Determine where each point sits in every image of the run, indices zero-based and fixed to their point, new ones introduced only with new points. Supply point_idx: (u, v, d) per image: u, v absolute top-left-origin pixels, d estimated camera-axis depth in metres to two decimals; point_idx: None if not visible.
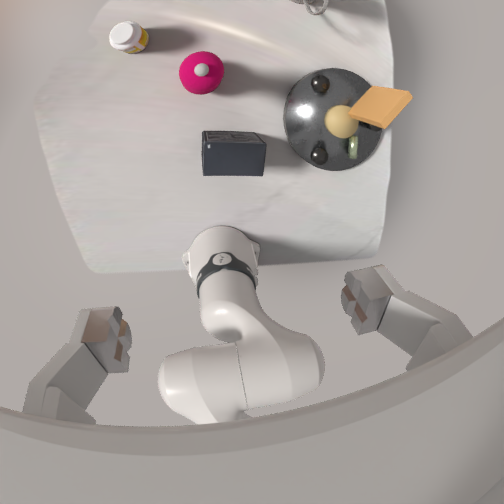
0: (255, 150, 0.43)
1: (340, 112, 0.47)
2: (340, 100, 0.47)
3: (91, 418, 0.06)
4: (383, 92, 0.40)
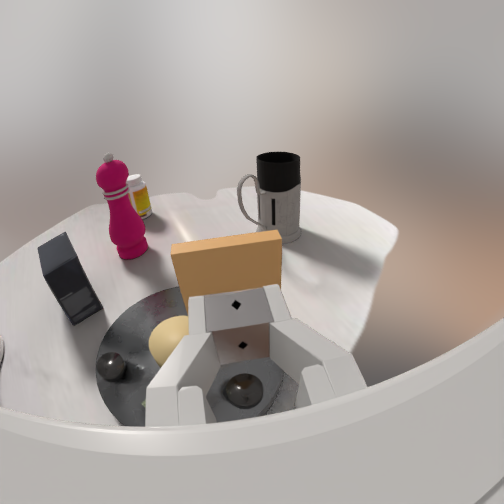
0: (66, 254, 0.32)
1: (186, 324, 0.30)
2: None
3: (214, 416, 0.07)
4: None
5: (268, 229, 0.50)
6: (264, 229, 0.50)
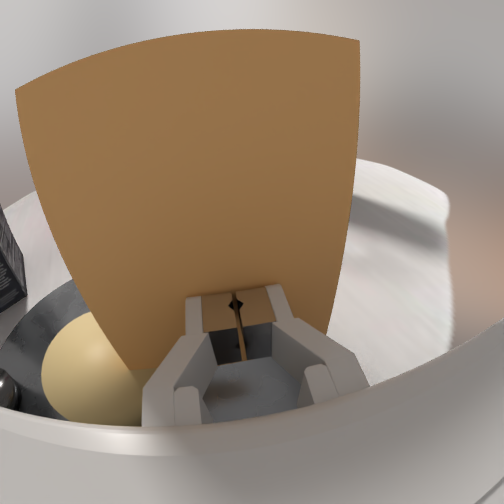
0: None
1: None
2: None
3: (211, 417, 0.07)
4: None
5: None
6: None
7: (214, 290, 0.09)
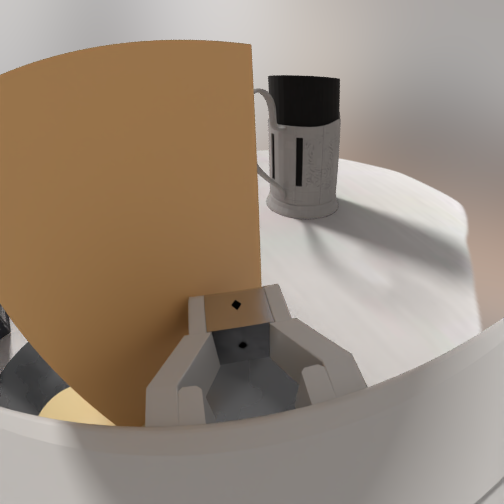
0: None
1: (78, 408, 0.09)
2: None
3: (214, 416, 0.07)
4: None
5: (289, 194, 0.28)
6: (282, 194, 0.29)
7: (181, 298, 0.08)
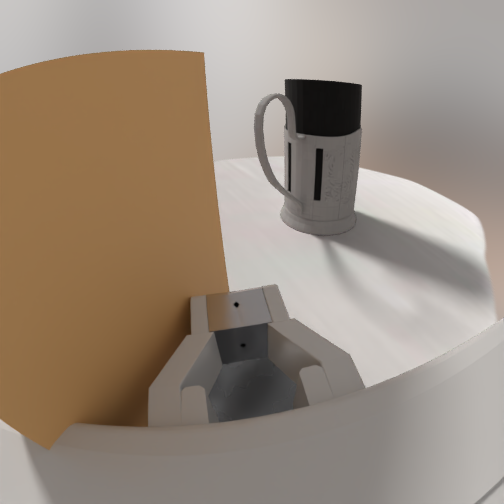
0: None
1: None
2: None
3: (216, 416, 0.07)
4: None
5: (306, 208, 0.27)
6: (299, 208, 0.27)
7: (162, 342, 0.07)
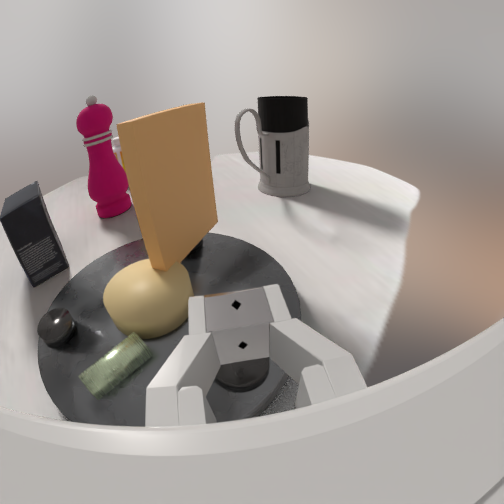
0: (30, 195, 0.23)
1: (132, 273, 0.21)
2: (193, 279, 0.23)
3: (214, 416, 0.07)
4: None
5: (272, 179, 0.41)
6: (267, 179, 0.41)
7: (187, 198, 0.22)
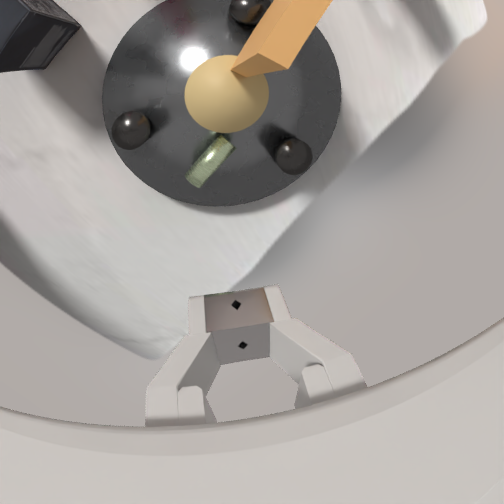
0: (9, 15, 0.06)
1: (209, 75, 0.18)
2: None
3: (214, 416, 0.07)
4: None
5: None
6: None
7: None
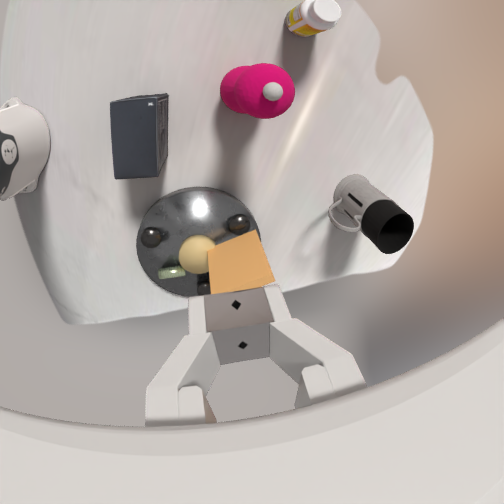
0: (147, 164, 0.31)
1: (198, 247, 0.46)
2: None
3: (214, 416, 0.07)
4: (253, 251, 0.42)
5: (341, 202, 0.48)
6: (339, 199, 0.48)
7: None
